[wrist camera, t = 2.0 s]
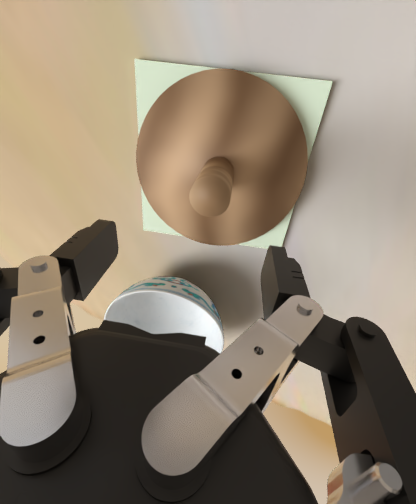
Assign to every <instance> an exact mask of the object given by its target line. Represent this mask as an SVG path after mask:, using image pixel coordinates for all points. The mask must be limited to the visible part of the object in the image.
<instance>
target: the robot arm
mask: <svg viewBox="0 0 416 504" xmlns="http://www.w3.org/2000/svg"><path fill="white" fill-rule="evenodd" d="M117 254H118V240H117V231H116V225H115V222H113V221H107V220H100V219H99V220H97V221H96V222H95V223H94V224H93V225H91V226H90V227H86V228H84V229H82V230H80V231H78V232H77V233H75V234H74V235H73V236H72V238H70V239H68V240H67V242H65V243H64V244H63V245H61V246H60V247H59V248H58V249H57V250H56V251H54V252H53V253H52V254H51V255H50V256H38V257H34V258H31V259H28V260H26V261H25V262H23V263H22V264H21V265H20V266H19V268H0V336H1V334H2V333H3V332H4V331H5V330H6V329H7V328H8V327H9V326H10V331H9V348H8V365H7V370H6V371H5V372H3V373H1V374H0V504H318V503H317V500H316V498H315V496H314V494H313V492H312V490H311V488H310V486H309V485H308V483H307V481H306V480H305V478H304V477H303V475H302V473H301V472H300V470H299V469H298V467H297V466H296V464H295V463H294V461H293V460H292V458H291V456H290V455H289V453H288V452H287V450H286V449H285V447H284V446H283V444H282V443H281V441H280V439H279V438H278V436H277V435H276V433H275V432H274V430H273V429H272V427H271V426H270V424H269V423H268V421H267V419H266V418H265V416H264V415H263V412H264V411H265V409H266V408H267V407H268V405H269V403H270V402H271V401H272V399H273V397H274V396H275V394H276V393H277V391H278V390H279V388H280V387H281V385H282V384H283V383H284V381H285V380H286V379H287V377H288V376H289V375H290V373H291V372H292V371H293V369H294V368H295V367H296V365H297V364H298V363H299V361H301V362H303V363H305V364H307V365H310V366H312V367H314V368H316V369H318V370H320V371H321V376H322V381H323V386H324V390H325V395H326V400H327V405H328V409H329V414H330V419H331V424H332V428H333V433H334V438H335V442H336V447H337V452H338V457H339V461H340V464H339V465H338V466H337V467H336V468H335V469H334V470H333V471H332V472H331V473H330V475H329V478H328V482H327V490H328V499H327V504H416V393H415V391H414V389H413V387H412V385H411V383H410V381H409V380H408V378H407V376H406V374H405V372H404V370H403V368H402V366H401V364H400V362H399V360H398V358H397V356H396V354H395V352H394V350H393V348H392V346H391V344H390V342H389V340H388V338H387V336H386V335H385V333H384V332H383V330H382V329H381V328H380V327H378V326H377V325H376V324H374V323H373V322H371V321H369V320H367V319H364V318H361V317H351V318H349V319H348V320H347V321H346V323H343V322H340V321H338V320H335V319H333V318H330V317H328V316H326V315H324V314H323V310H322V308H321V306H320V305H319V304H318V303H317V302H316V301H314V300H313V299H311V298H310V295H309V292H308V289H307V285H306V282H305V280H304V276H303V274H302V270H301V267H300V265H299V264H298V263H297V261H296V260H295V259H294V258H288V257H287V253H286V249H285V247H279V246H272V245H270V246H269V247H268V250H267V254H266V258H265V261H264V265H263V268H262V273H261V289H262V300H263V311H264V319H263V318H260V319H258V320H257V321H256V322H255V323H254V324H253V325H251V326H250V327H249V328H248V329H247V330H246V331H245V332H244V333H243V334H242V335H240V336H239V337H238V338H237V339H236V340H235V341H234V342H233V343H232V344H231V345H229V346H228V347H227V348H226V349H225V350H224V351H223V352H222V353H221V354H220V353H219V352H217V351H216V350H214V349H213V348H211V347H209V346H207V345H205V342H206V337H204V336H198V335H192V334H186V333H164V334H152V333H149V332H147V331H144V330H142V329H139V328H137V327H135V326H132V325H130V324H126V323H120V322H114V321H108V320H104V321H103V322H102V324H101V326H100V327H99V328H93V329H88V330H84V331H80V332H78V333H76V331H75V325H74V320H73V315H72V309H71V305H70V302H71V301H72V300H73V299H75V300H81V301H84V300H85V298H86V297H87V296H88V294H89V293H90V292H91V290H92V289H93V288H94V286H95V285H96V284H97V282H98V281H99V280H100V278H101V277H102V276H103V274H104V273H105V272H106V270H107V269H108V268H109V267H110V265H111V264H112V263H113V261H114V260H115V259H116V257H117Z"/></svg>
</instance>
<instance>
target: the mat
mask: <svg viewBox="0 0 416 504" xmlns="http://www.w3.org/2000/svg"><path fill="white" fill-rule="evenodd" d="M210 69H220V68H211V67H202V66H193V65H185V64H176V63H167V62H158V61H149V60H140V59H135V78H136V97H137V116H138V135H139V133H140V129H141V126H142V124H143V121H144V119H145V117H146V115H147V113H148V111H149V110H150V108H151V106H152V105H153V104H154V102H155V101H156V100H157V99H158V97H159V96H160V95H161V94H162V93H163V92H164V91H165V90H166V89H167V88H169V87H170V86H171V85H173V84H174V83H176V82H177V81H179V80H180V79H182V78H184V77H186V76H189V75H191V74H194V73H197V72H200V71H204V70H210ZM244 72H247V71H244ZM247 73H249V74H252V75H255V76H257V77H259V78H261V79H263V80H264V81H266V82H268V83H269V84H271V85H272V86H273V87H274V88H276V89H277V90H278V91H279V92H280V93H281V94H282V95H283V96H284V97H285V98H286V99H287V100H288V101H289V103H290V104H291V106H292V107H293V109H294V110H295V112H296V114H297V116H298V118H299V120H300V122H301V124H302V127H303V131H304V134H305V137H306V143H307V152H308V160H309V157H310V154H311V150H312V147H313V144H314V141H315V137H316V134H317V131H318V128H319V125H320V121H321V118H322V115H323V112H324V108H325V105H326V102H327V99H328V95H329V92H330V89H331V86H332V83H333V81H326V80H317V79H308V78H300V77H291V76H282V75H273V74H264V73H255V72H247ZM141 193H142V212H143V230H146V231H152V232H159V233H165V234H172V235H179V236H183V235H181V234H180V233H178V232H176V231H175V230H173V229H172V228H171V227H169V226H168V225H167V224H166V223H165V222H164V221H163V220H162V219H161V218H160V217H159V216H158V215H157V214H156V212H155V211H154V210H153V208H152V207H151V205H150V204H149V202H148V200H147V198H146V196H145V194H144V192H143V189H142V187H141ZM293 209H294V206H293V208H292V209H291V210H290V212H289V213H288V214H287V216H286V217H285V218H284V219H283V220H282V221H281V222H280V223H279V224H278V225H276V226H275V227H274V228H273V229H271V230H270V231H268V232H267V233H265V234H264V235H262V236H260V237H258V238H256V239H253V240H250V241H248V242H244V243H240V244H238V245H244V246H251V247H258V248H264V249H268V247H269V246H270V245H272V246H279V247H282V244H283V241H284V238H285V234H286V231H287V228H288V225H289V221H290V218H291V215H292V212H293Z"/></svg>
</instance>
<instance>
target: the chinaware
mask: <svg viewBox="0 0 416 504" xmlns="http://www.w3.org/2000/svg"><path fill="white" fill-rule="evenodd" d="M104 320H108V321H114V322H120V323H126V324H130V325H132V326H135V327H137V328H139V329H142V330H144V331H147V332H149V333H152V334H164V333H186V334H192V335H198V336H204V337H206V342H205V345H207V346H209V347H211V348H213V349H214V350H216V351H217V352H219V353H220V354H221V353H222V350H223V347H224V334H223V327H222V323H221V319H220V316H219V314H218V311H217V309H216V307H215V305H214V304H213V302H212V301H211V299H210V298H209V297H208V296H207V294H206V293H205V292H204V291H202V290H201V289H200V288H199V287H197V286H196V285H194V284H192V283H191V282H189V281H187V280H185V279H183V278H179V277H169V276H160V277H153V278H149V279H145V280H143V281H140V282H138V283H136V284H134V285H132V286H131V287H129V288H128V289H126V290H125V291H124V292H122V293H121V294H120V295H119V296H118V297H117V298H116V299H115V300H114V301H113V302H112V303H111V304H110V305H109V307H108V309H107V311H106V313H105V317H104Z"/></svg>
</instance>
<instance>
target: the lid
mask: <svg viewBox="0 0 416 504" xmlns="http://www.w3.org/2000/svg"><path fill="white" fill-rule="evenodd" d="M136 163H137V171H138V176H139V180H140V184H141V187H142V189H143V192H144V194H145V196H146V198H147V200H148V202H149V204H150V205H151V207H152V208H153V210H154V211H155V212H156V214H157V215H158V216H159V217H160V218H161V219H162V220H163V221H164V222H165V223H166V224H167V225H168V226H169V227H171V228H172V229H173V230H175V231H176V232H178V233H180V234H181V235H183V236H185V237H187V238H189V239H191V240H194V241H197V242H200V243H205V244H210V245H235V244H240V243H244V242H248V241H250V240H253V239H256V238H258V237H260V236H262V235H264V234H265V233H267V232H268V231H270V230H271V229H273V228H274V227H275V226H276V225H278V224H279V223H280V222H281V221H282V220H283V219H284V218H285V217H286V216H287V214H288V213H289V212H290V210H291V209H292V208H293V206H294V205H295V203H296V201H297V199H298V197H299V195H300V193H301V190H302V188H303V185H304V181H305V177H306V173H307V164H308V152H307V143H306V137H305V134H304V131H303V127H302V124H301V122H300V120H299V118H298V116H297V114H296V112H295V110H294V109H293V107H292V106H291V104H290V103H289V101H288V100H287V99H286V98H285V97H284V96H283V95H282V94H281V93H280V92H279V91H278V90H277V89H276V88H274V87H273V86H272V85H271V84H269V83H268V82H266V81H264V80H263V79H261V78H259V77H257V76H255V75H252V74H249V73H247V72H244V71H238V70H233V69H210V70H204V71H200V72H197V73H194V74H191V75H189V76H186V77H184V78H182V79H180V80H179V81H177V82H176V83H174V84H173V85H171V86H170V87H169V88H167V89H166V90H165V91H164V92H163V93H162V94H161V95H160V96H159V97H158V99H157V100H156V101H155V102H154V104H153V105H152V106H151V108H150V110H149V111H148V113H147V115H146V117H145V119H144V121H143V124H142V126H141V129H140V133H139V137H138V142H137V150H136Z"/></svg>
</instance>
